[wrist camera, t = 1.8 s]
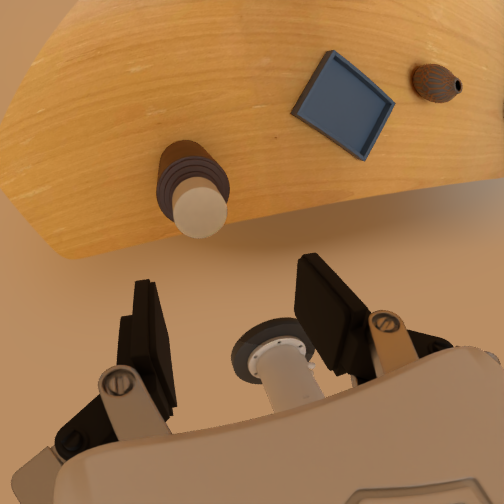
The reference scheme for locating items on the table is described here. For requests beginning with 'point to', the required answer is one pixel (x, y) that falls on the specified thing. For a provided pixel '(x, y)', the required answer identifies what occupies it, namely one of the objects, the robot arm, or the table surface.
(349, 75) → the tray
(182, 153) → the bottle
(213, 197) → the cap
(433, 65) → the vase
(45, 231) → the table surface
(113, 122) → the table surface
